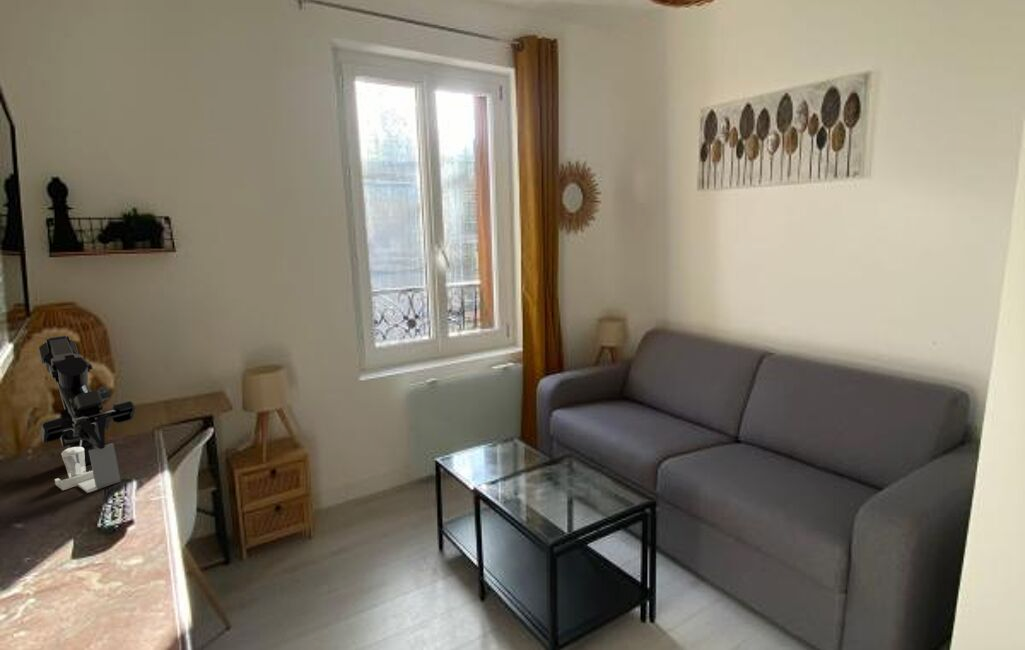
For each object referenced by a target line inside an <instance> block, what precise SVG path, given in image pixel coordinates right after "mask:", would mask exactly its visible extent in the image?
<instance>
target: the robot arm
mask: <svg viewBox="0 0 1025 650" xmlns="http://www.w3.org/2000/svg"><path fill="white" fill-rule="evenodd" d="M38 355H39V358H40V362H41V364H43V365H44V366H45V370H46V372H48V373H49V375H50V379H51V380H55V382H56V384H57V387H58V391H59V394H60V399H61V402H62V405H63V408H64V409H62V410H61V411H60V416H59V417H56V418H52V419H49V420H45V421H43V422H42V423H41V425H40V438H41V440H42V443H45V444H48V443H51V442H55V441H59V440H60V442H61V446H62V447H63V448H65V447H67V446H68V448H72V447H80V440H82V445H81V447H83V448H84V453H85V466H86V465H88V464H91V461H90V456H89V451H88V450H91V449H94V448H97V447H98V448H100V449H102V448H105V445H106V437H105V436H106V432H105V431H106V430H108V429H109V427H110V424H111V419H112V421H113V422H114V423H116V424H122V423H125V422H129V421H131V420H132V419H134V414H135V409H136V406H135V403H134V402H132V401H131V400H126V401H121V402H118V403H113V406H112V409H111V410H106V411H103V412H102V410H103V409H104V406H103V403H104V402H105V401H107V400H110V399H111V397H112V395H111V392H110V389H109V387H108V386H107V385H105V386H101V387H98V388H97V389H95V390H91V389H90V386H89V385H88V382H89V373H91V370H93V366H92V364H91V363H90V362H88V361H87V360H86V359H84V358H83V356H82V355H81V354H80V353H79V351H78V347H77V344H76V341H75V340H74V341H73V340H72V339H70V338H69V336H68V335H59V336H51V337H48V338H46V339H45V342H44V343H43V344H40V345H39V346H38Z"/></svg>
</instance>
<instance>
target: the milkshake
mask: <svg viewBox="0 0 1025 650" xmlns="http://www.w3.org/2000/svg"><path fill="white" fill-rule="evenodd" d="M81 445H82V440H80V447H72V448H69V447H67V448H66V449H64V450H63V451H62V452H61V458H62V460H63V462H64V466H65V469H66V472H67V476H68V478H70V477H73V476H77V475H80V474H83V473H86V472H87V467H86V465H85V453H84V448H83V447H81Z"/></svg>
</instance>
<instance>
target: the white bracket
mask: <svg viewBox="0 0 1025 650" xmlns="http://www.w3.org/2000/svg"><path fill="white" fill-rule="evenodd" d="M115 450H116V449H115V444H114V443H108V444H105V448H102V449H100V448H98V447H97V446H96V448H94V449H91V450H88V451H89V456H90V461H91V463H90V464H91V470H89V471H86V473H83V474H80V475H77V476H73V477H70V478H69V477H67V478H65V479H60V478H59V477H58V478H55V479H54V484H55V486H56V487H58V488H59V489H60V490H61V491H66V490H68V489H71V488H74V487H78V488H80V489H81V490H83V491H84V492H86V493H87V494H88V493H92V492H94V491H97V490H101V489H103V488H106V487H109V486H111V485H114V484H119V483H120V482H122V481H121V475H120V470H119V465H118V460H117V455H116V451H115Z"/></svg>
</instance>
